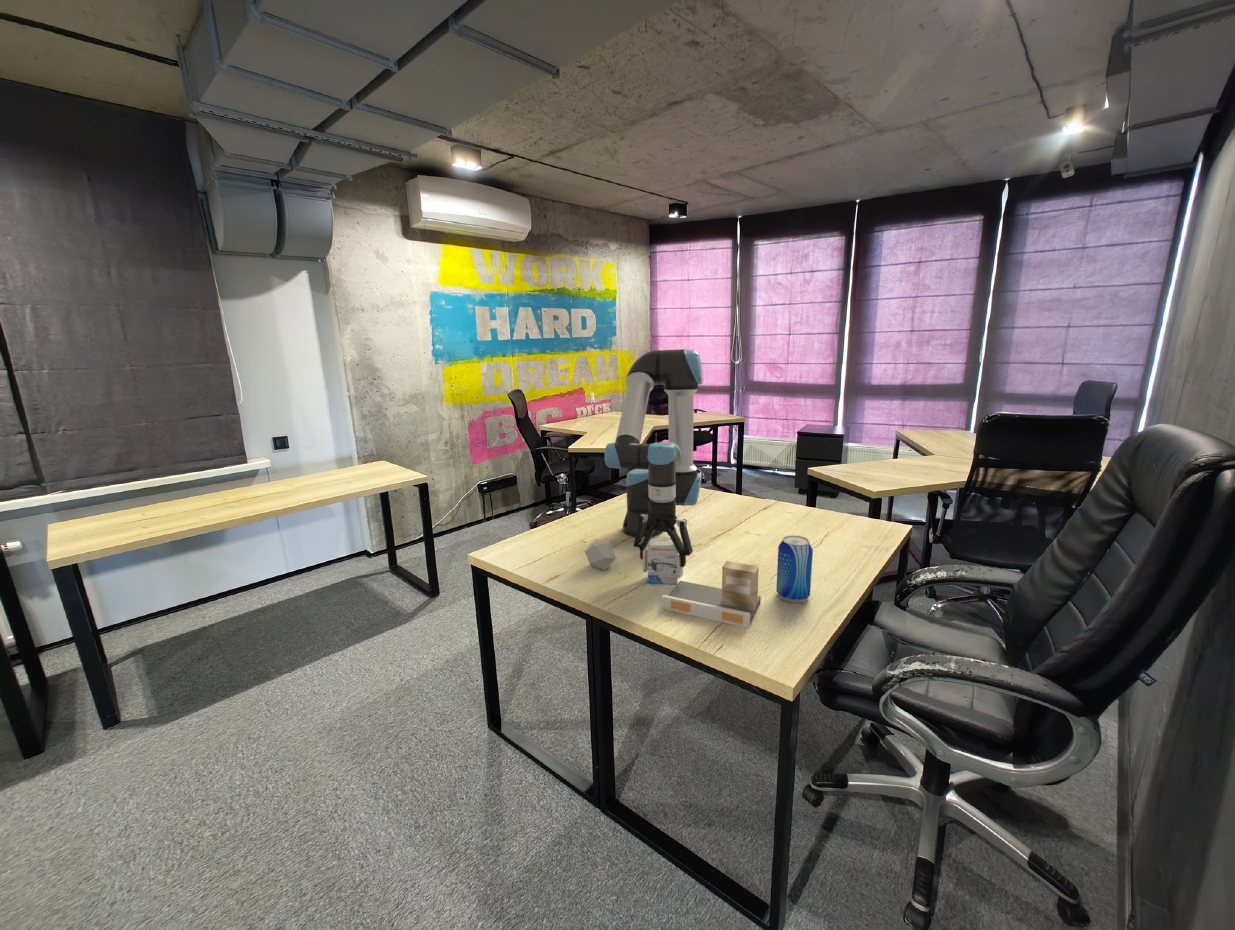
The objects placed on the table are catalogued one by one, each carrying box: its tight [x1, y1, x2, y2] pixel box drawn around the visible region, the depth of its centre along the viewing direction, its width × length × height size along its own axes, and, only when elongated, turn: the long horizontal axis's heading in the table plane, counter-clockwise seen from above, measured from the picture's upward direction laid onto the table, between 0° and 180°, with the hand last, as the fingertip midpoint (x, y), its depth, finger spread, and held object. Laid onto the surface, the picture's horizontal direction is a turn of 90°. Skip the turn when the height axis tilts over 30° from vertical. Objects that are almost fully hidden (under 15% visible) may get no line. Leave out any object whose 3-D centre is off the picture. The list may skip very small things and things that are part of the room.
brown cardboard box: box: [721, 560, 760, 611], centre depth 123 cm, size 8×4×10 cm, turn 63°
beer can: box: [775, 534, 814, 604], centre depth 129 cm, size 8×8×16 cm
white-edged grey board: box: [661, 580, 762, 629], centre depth 127 cm, size 22×13×4 cm, turn 63°
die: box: [584, 538, 617, 571], centre depth 152 cm, size 8×9×10 cm
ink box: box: [647, 538, 679, 585], centre depth 141 cm, size 9×5×12 cm, turn 84°
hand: (662, 573), depth 142 cm, fingers open, 10 cm apart
